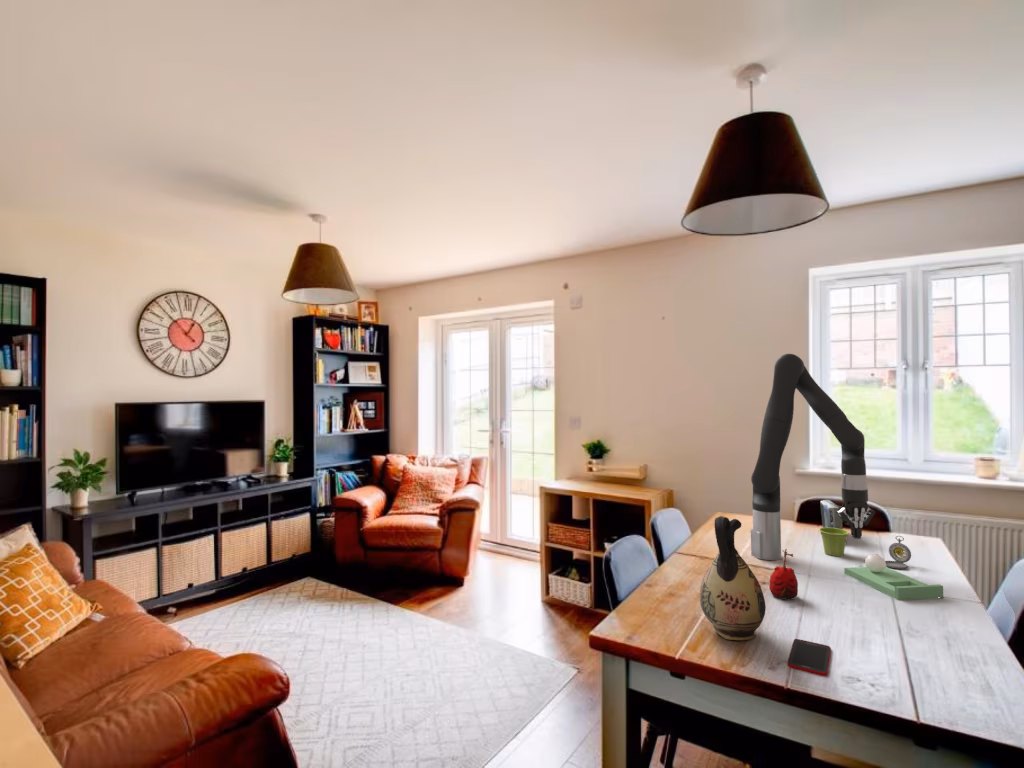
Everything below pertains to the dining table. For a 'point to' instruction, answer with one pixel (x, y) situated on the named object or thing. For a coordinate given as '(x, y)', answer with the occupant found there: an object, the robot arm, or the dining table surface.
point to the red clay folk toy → (784, 581)
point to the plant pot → (834, 540)
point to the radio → (830, 515)
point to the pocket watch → (899, 550)
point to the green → (895, 583)
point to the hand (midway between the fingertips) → (856, 538)
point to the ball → (875, 563)
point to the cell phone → (809, 657)
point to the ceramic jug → (731, 588)
